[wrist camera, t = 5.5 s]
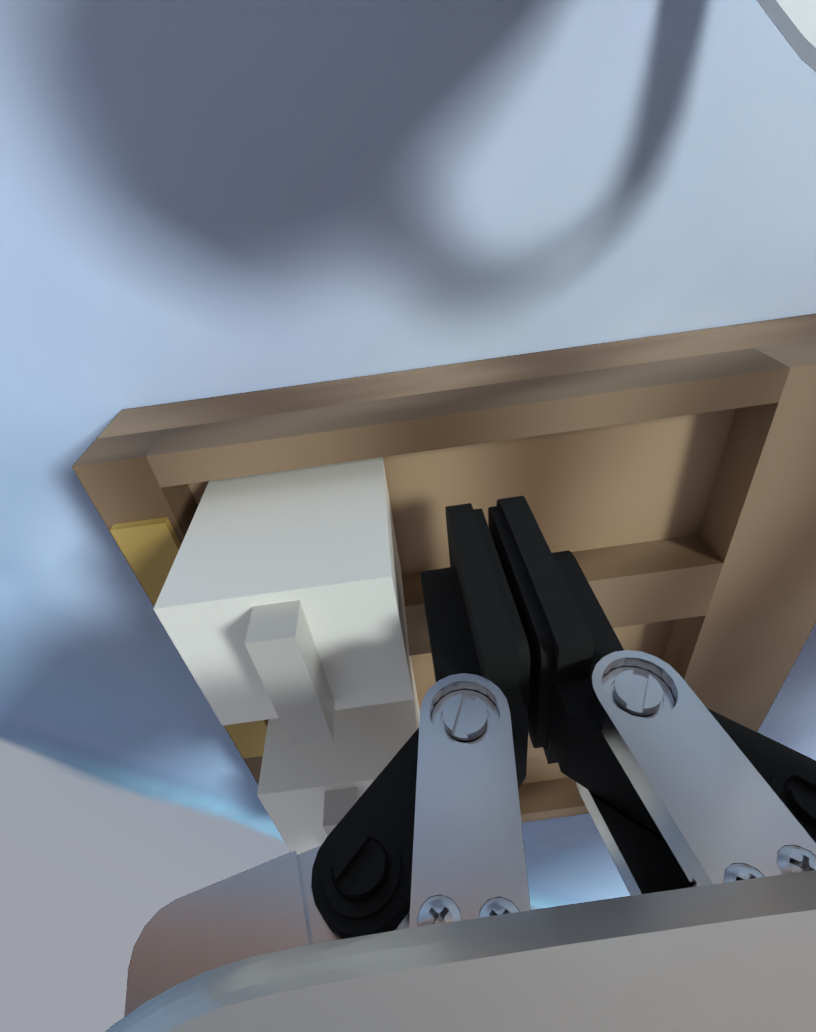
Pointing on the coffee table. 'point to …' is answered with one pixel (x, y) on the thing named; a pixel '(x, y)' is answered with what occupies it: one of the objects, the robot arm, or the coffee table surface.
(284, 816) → the tab middle
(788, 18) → the cup
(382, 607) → the tab
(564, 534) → the switch board
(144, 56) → the coffee table surface
